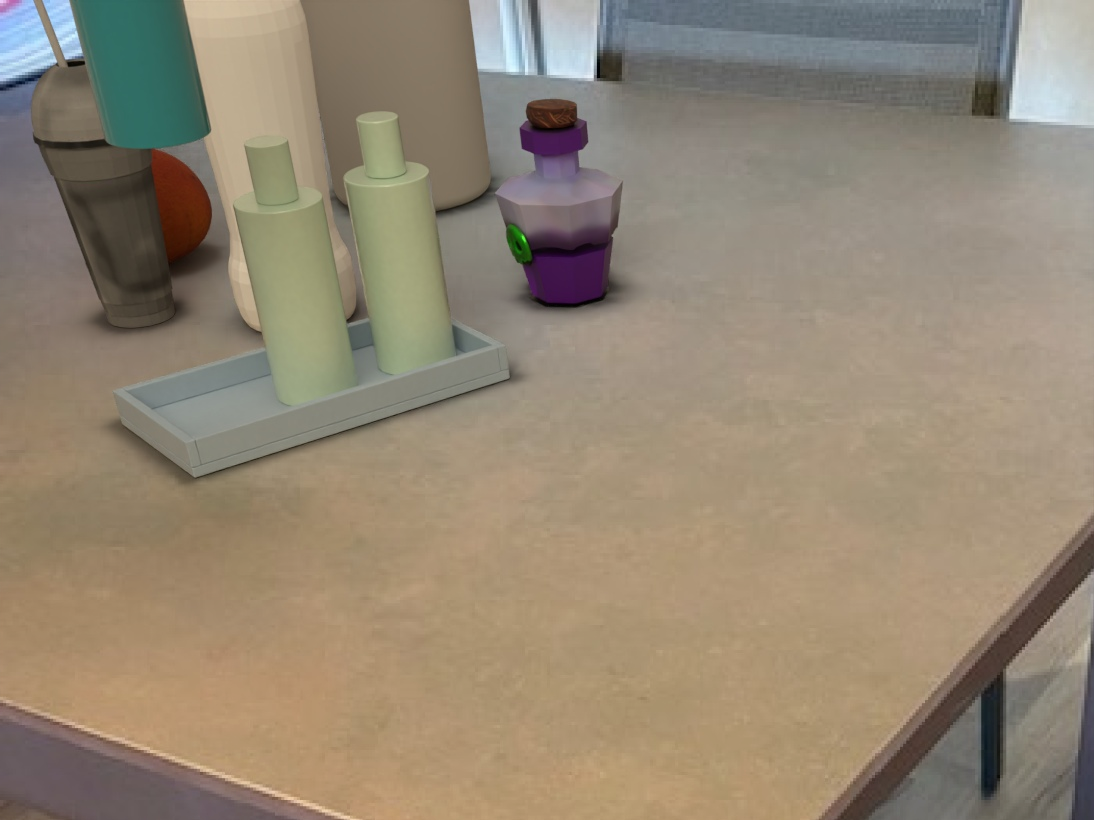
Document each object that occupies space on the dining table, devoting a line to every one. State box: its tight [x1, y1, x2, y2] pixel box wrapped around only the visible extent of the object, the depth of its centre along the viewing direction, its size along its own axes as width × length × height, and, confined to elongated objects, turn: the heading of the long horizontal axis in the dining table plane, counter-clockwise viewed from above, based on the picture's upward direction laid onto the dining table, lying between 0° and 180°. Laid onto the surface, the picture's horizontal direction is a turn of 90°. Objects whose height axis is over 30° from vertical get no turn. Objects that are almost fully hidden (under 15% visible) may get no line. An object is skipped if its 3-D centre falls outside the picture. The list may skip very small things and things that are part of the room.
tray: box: [112, 317, 511, 479], centre depth 100 cm, size 21×10×2 cm, turn 129°
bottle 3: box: [343, 111, 457, 375], centre depth 99 cm, size 5×5×14 cm
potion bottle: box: [494, 98, 624, 308], centre depth 109 cm, size 9×9×12 cm
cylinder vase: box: [300, 0, 492, 212], centre depth 123 cm, size 12×12×25 cm
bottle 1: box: [184, 0, 357, 333], centre depth 101 cm, size 8×8×30 cm
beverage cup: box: [30, 0, 176, 329], centre depth 106 cm, size 7×7×20 cm
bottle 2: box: [233, 135, 359, 406], centre depth 95 cm, size 5×5×14 cm
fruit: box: [151, 148, 213, 264], centre depth 119 cm, size 9×9×8 cm
